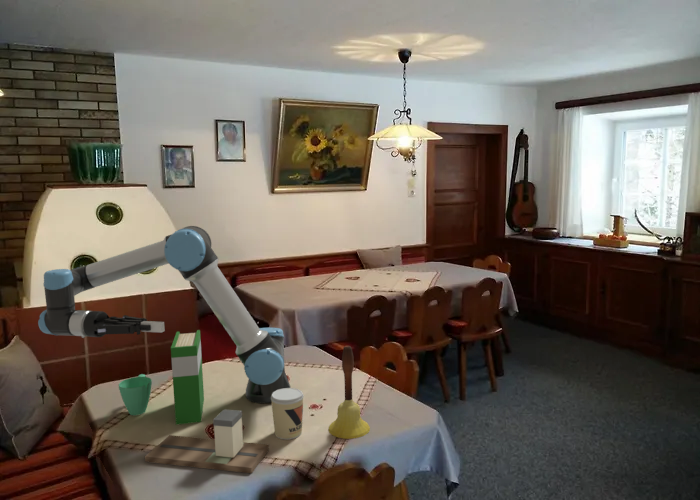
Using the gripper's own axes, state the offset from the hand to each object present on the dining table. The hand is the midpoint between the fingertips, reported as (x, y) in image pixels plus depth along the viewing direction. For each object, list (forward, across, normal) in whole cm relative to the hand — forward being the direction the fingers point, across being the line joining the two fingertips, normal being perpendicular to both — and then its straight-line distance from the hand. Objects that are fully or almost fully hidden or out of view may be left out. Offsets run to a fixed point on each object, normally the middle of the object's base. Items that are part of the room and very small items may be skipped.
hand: (162, 327), depth 154 cm
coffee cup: (+34, -7, -32) cm, 47 cm away
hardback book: (-2, -15, -32) cm, 36 cm away
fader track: (+17, +10, -32) cm, 38 cm away
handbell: (+51, -12, -32) cm, 61 cm away
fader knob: (+23, +10, -30) cm, 39 cm away
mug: (-19, -14, -32) cm, 40 cm away
